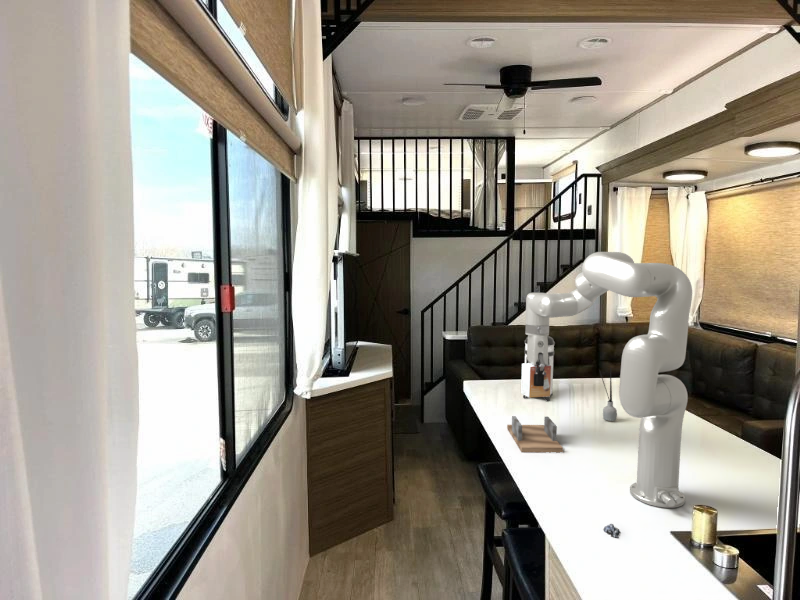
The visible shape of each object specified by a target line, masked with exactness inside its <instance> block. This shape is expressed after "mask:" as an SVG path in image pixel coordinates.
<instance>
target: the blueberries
mask: <svg viewBox="0 0 800 600" xmlns="http://www.w3.org/2000/svg"><path fill="white" fill-rule="evenodd" d="M602 530H603V532H604V533H606V535H609V536H610V537H611V538H613V539H619V538H620V537H619V535H620V533H621V531H620V529H619V528H616V527H615V525H614V524H613V523H609V524H607V525H606V526H604V528H603V529H602Z"/></svg>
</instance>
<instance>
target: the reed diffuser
mask: <svg viewBox="0 0 800 600" xmlns="http://www.w3.org/2000/svg"><path fill="white" fill-rule="evenodd" d="M598 370H599V374H600V377H601V379H602V383H603V387H604V390H605V392H606V397H607V398H608V401H607V404H606V406H605V407H603V409H602V419H603V420H605V421H610V422H612V421H613V422H614V421H616V420H617V419H618V412H617V411H618V410H617V408H615V406H614V401H613V394H612V393H613V392H612V391H613V390H612V389H613V388H612V367H610V368H609V371H610V372H609V373H610V374H609V375H610V376H609V380H610V381H609V394H608V391H607V388H606V387H607V386H606V384H605V381H604V378H603V375H602V372H601V369H598Z"/></svg>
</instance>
